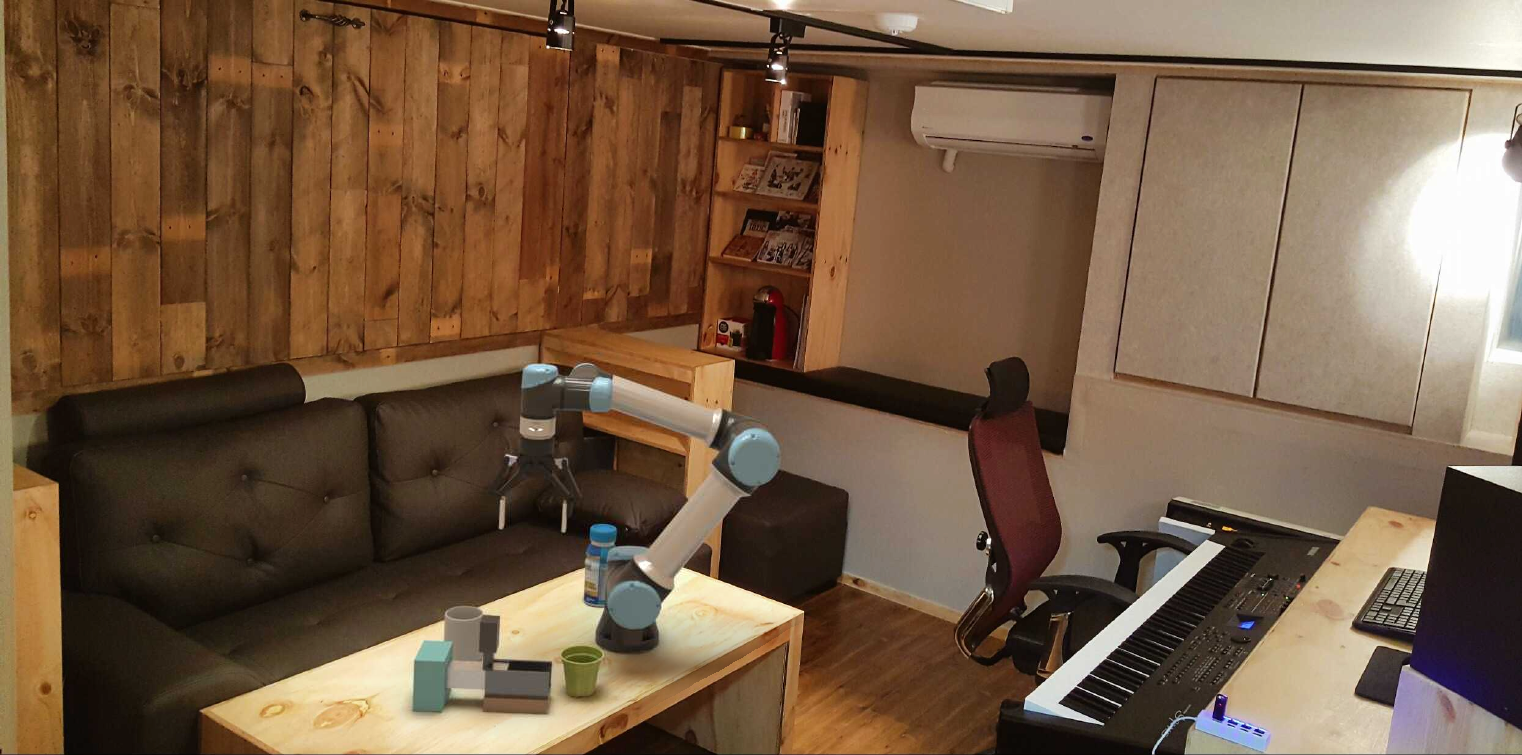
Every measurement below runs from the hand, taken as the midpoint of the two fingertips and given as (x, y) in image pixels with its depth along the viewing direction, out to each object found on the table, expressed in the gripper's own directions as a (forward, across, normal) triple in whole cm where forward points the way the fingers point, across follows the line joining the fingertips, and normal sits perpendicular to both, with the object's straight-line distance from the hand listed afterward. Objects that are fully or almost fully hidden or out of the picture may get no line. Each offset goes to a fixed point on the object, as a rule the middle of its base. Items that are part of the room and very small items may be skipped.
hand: (532, 528), depth 265 cm
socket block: (+32, -17, -20) cm, 41 cm away
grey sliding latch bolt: (+28, -10, -20) cm, 36 cm away
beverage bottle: (+32, +14, +39) cm, 52 cm away
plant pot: (+32, +13, -13) cm, 37 cm away
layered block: (+32, 0, -20) cm, 37 cm away
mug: (+32, -13, +2) cm, 35 cm away
